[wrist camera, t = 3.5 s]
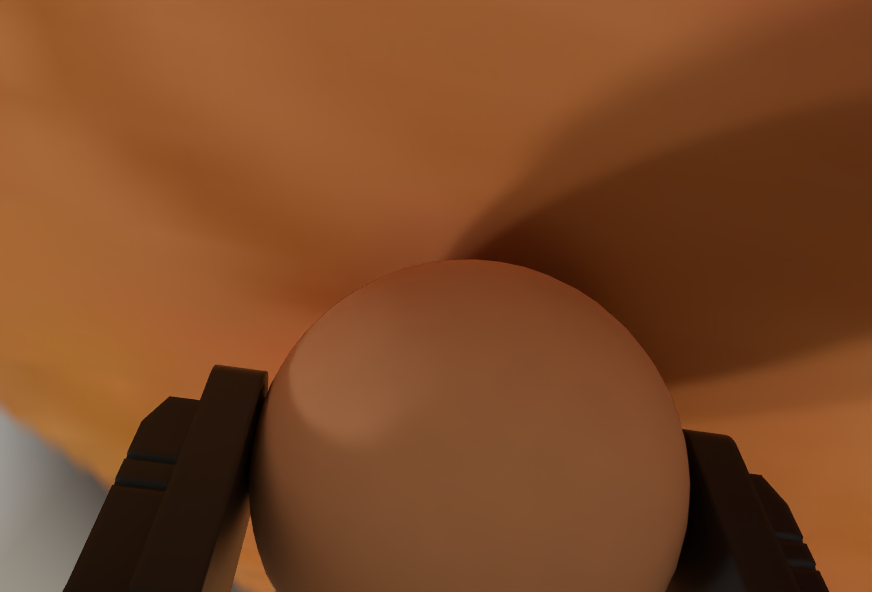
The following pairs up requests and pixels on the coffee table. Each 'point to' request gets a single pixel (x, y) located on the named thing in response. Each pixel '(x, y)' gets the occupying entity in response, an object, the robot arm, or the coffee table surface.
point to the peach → (468, 443)
